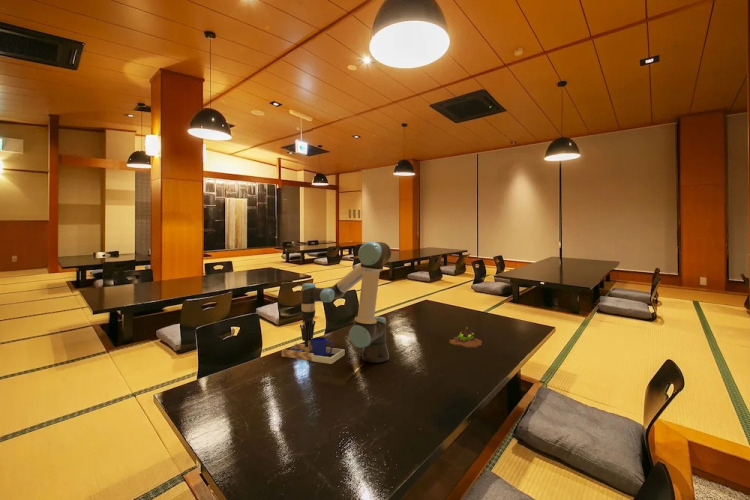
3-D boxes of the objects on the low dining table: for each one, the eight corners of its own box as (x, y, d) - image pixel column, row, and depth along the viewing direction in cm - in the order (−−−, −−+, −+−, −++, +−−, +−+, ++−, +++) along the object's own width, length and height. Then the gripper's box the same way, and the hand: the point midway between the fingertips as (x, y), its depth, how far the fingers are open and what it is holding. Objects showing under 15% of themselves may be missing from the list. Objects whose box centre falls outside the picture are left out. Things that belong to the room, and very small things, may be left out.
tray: (344, 354, 184) (344, 349, 184) (331, 363, 169) (331, 358, 169) (326, 352, 188) (326, 347, 188) (311, 361, 173) (311, 355, 173)
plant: (486, 343, 208) (486, 326, 209) (476, 351, 192) (476, 332, 192) (456, 338, 220) (456, 322, 220) (445, 345, 204) (445, 328, 204)
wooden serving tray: (325, 352, 187) (325, 346, 187) (312, 360, 174) (312, 354, 174) (296, 349, 195) (296, 343, 195) (281, 356, 181) (281, 350, 181)
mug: (330, 360, 175) (330, 341, 175) (309, 358, 177) (309, 340, 177) (334, 355, 183) (334, 337, 183) (314, 354, 186) (314, 336, 186)
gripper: (308, 308, 191) (308, 348, 191) (295, 312, 179) (295, 354, 179) (319, 309, 188) (319, 349, 188) (307, 313, 176) (306, 356, 176)
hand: (307, 352), depth 184 cm, fingers closed
